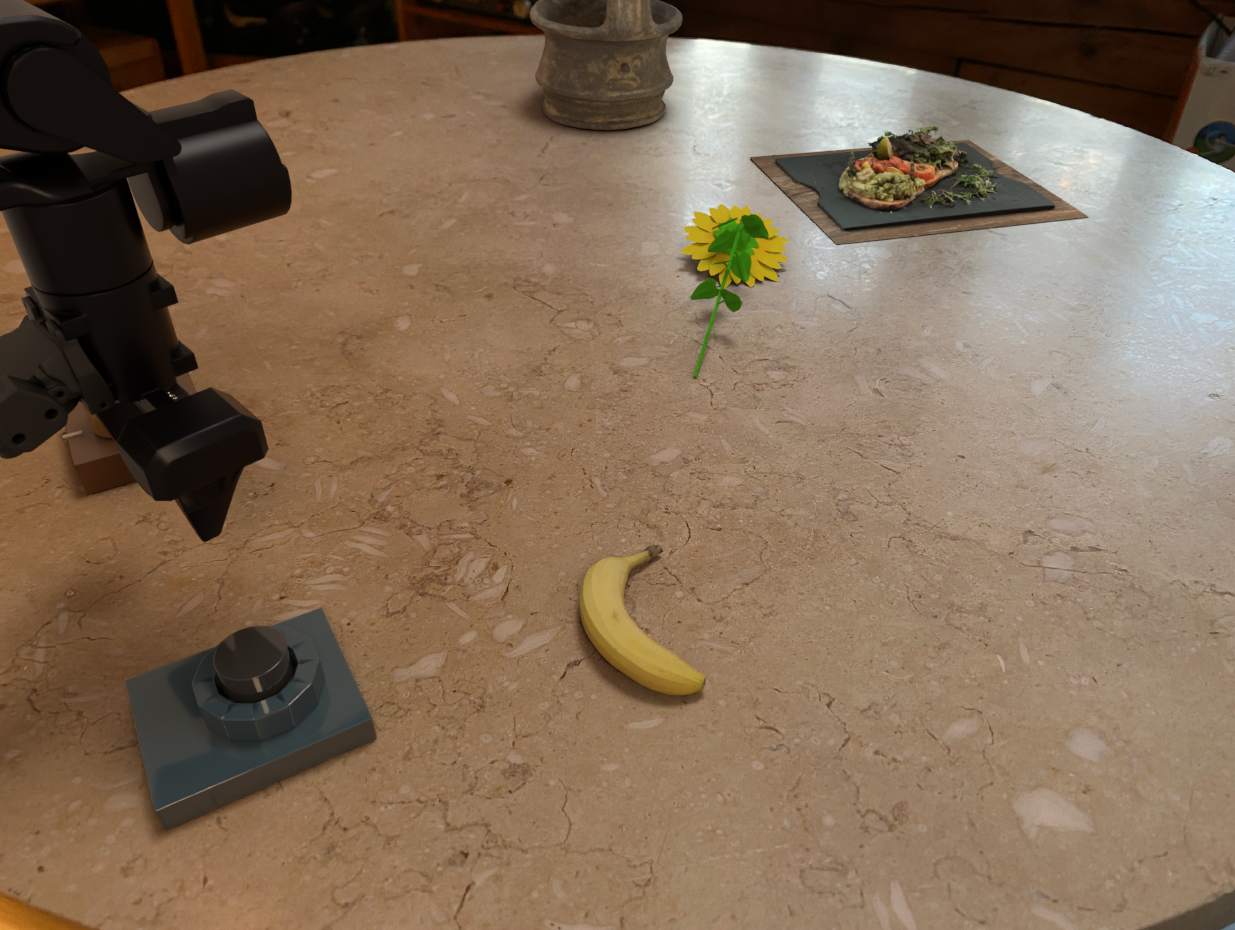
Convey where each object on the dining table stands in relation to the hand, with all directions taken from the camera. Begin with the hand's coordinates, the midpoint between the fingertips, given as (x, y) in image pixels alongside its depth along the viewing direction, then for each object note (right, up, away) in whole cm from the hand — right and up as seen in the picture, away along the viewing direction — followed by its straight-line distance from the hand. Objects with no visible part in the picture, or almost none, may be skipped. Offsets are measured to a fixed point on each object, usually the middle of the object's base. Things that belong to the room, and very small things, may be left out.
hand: (175, 500), depth 58 cm
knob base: (+5, -13, -1) cm, 14 cm away
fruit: (+28, -9, +6) cm, 30 cm away
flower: (+39, +20, +41) cm, 60 cm away
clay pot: (+25, +56, +86) cm, 106 cm away
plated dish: (+66, +39, +66) cm, 101 cm away
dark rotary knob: (+6, -10, -3) cm, 12 cm away
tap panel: (-12, +4, +20) cm, 24 cm away
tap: (-12, +6, +17) cm, 22 cm away
